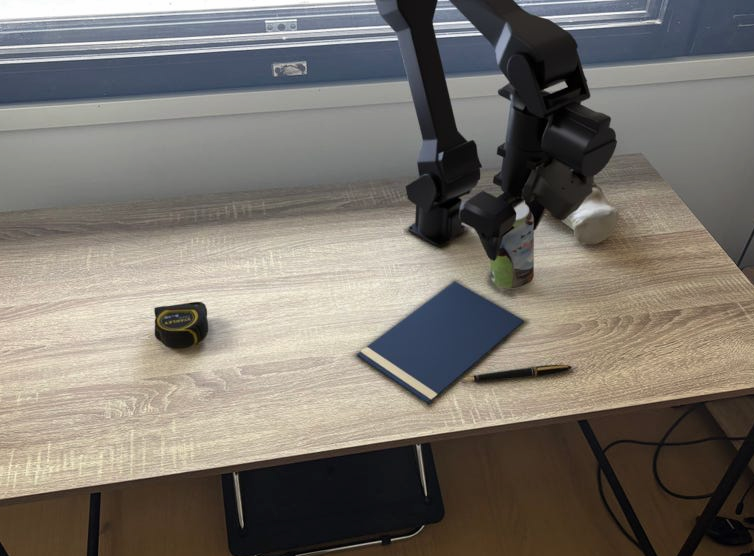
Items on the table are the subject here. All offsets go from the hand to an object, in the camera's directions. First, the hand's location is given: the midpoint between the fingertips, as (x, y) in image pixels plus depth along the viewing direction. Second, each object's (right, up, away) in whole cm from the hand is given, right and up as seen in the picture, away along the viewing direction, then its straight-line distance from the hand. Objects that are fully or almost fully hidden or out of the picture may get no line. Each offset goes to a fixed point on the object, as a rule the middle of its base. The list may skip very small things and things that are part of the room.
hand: (512, 244), depth 100 cm
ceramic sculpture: (+13, +5, +14) cm, 20 cm away
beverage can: (0, -5, +5) cm, 7 cm away
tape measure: (-45, -12, -2) cm, 46 cm away
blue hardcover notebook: (-10, -13, -4) cm, 17 cm away
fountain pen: (-1, -18, -8) cm, 20 cm away
